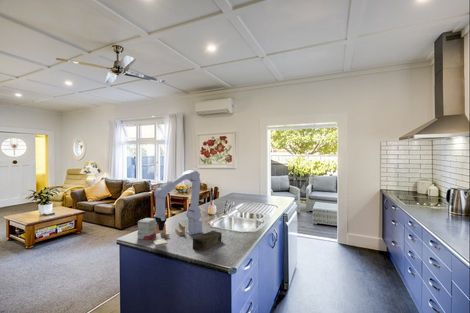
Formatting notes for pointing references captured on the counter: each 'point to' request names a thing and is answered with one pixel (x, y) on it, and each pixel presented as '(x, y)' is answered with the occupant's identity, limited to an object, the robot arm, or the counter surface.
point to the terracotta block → (156, 229)
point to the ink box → (146, 228)
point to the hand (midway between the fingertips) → (160, 229)
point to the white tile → (160, 242)
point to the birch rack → (179, 231)
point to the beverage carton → (206, 240)
